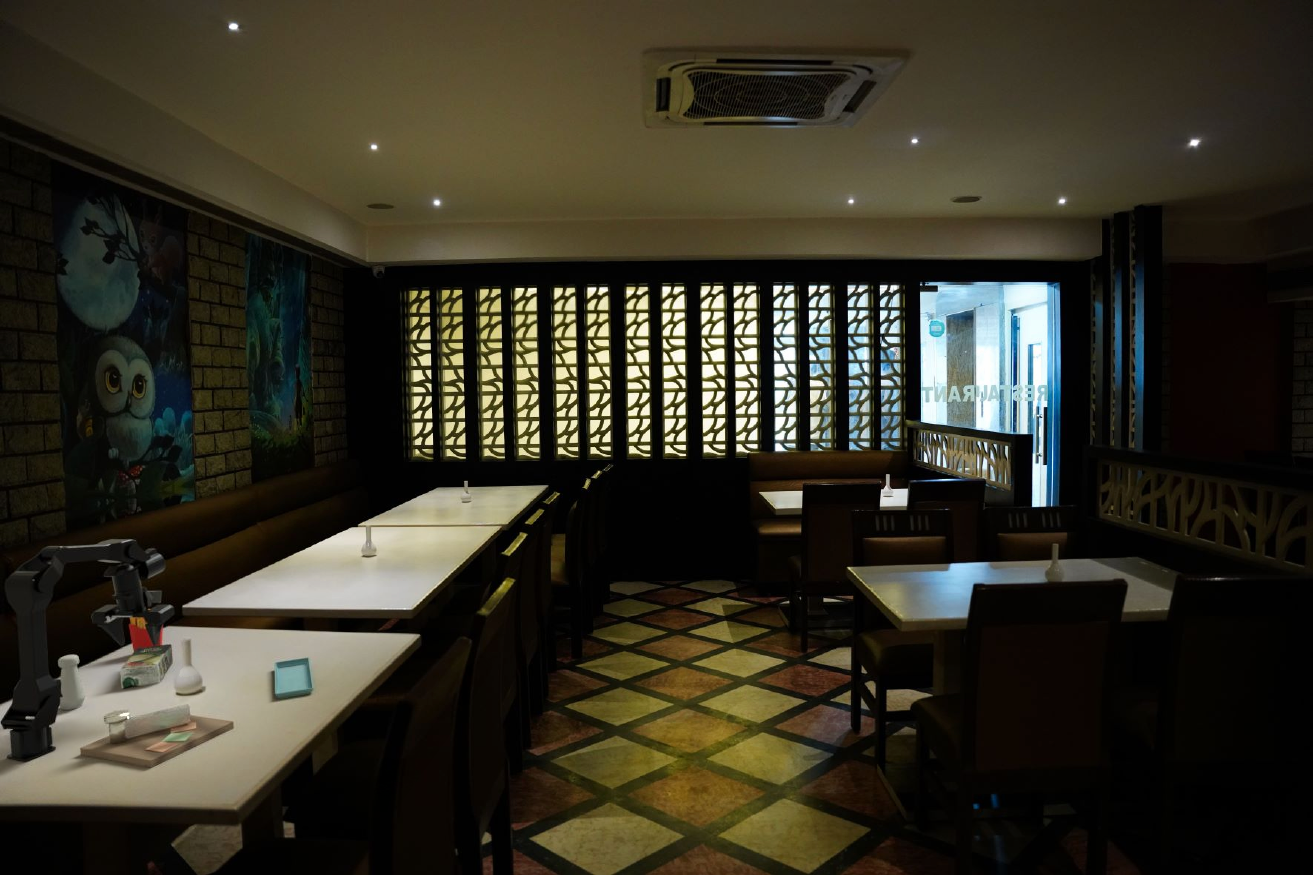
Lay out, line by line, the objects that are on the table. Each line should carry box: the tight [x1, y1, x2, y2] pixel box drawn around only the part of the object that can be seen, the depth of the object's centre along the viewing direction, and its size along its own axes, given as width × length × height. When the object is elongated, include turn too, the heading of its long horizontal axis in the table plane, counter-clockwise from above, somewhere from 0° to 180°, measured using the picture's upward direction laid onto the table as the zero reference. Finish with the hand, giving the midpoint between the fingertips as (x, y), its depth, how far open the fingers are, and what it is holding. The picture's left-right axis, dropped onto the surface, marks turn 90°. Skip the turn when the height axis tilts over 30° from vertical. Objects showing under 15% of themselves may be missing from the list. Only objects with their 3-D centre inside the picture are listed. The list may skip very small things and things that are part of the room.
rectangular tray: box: [274, 657, 315, 700], centre depth 224 cm, size 26×9×2 cm, turn 25°
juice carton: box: [119, 643, 174, 689], centre depth 232 cm, size 20×10×6 cm, turn 21°
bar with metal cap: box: [103, 704, 191, 743], centre depth 187 cm, size 16×5×6 cm, turn 130°
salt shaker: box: [57, 654, 86, 711], centre depth 209 cm, size 6×6×13 cm
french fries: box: [128, 608, 164, 652], centre depth 252 cm, size 9×4×13 cm, turn 105°
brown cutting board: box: [79, 714, 235, 768], centre depth 187 cm, size 21×21×2 cm
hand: (139, 645), depth 212 cm, fingers open, 9 cm apart
